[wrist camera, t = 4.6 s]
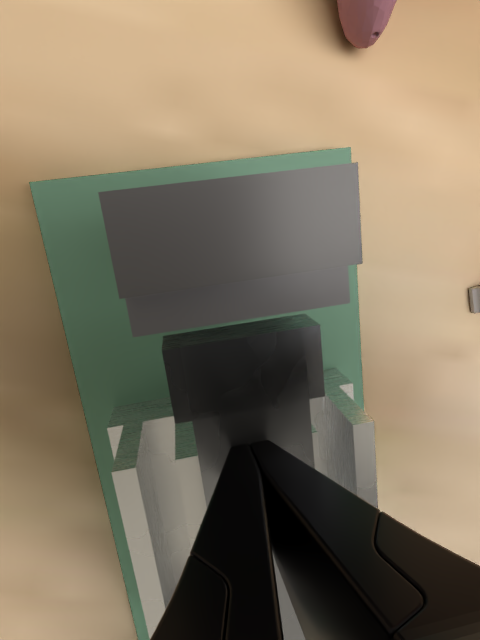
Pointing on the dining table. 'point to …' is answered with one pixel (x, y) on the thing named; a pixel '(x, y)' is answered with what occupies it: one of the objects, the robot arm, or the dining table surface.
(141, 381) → the board
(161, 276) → the post
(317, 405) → the heatsink
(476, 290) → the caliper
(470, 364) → the dining table surface
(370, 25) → the purple rounded piece
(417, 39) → the dining table surface
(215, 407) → the strap
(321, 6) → the dining table surface
